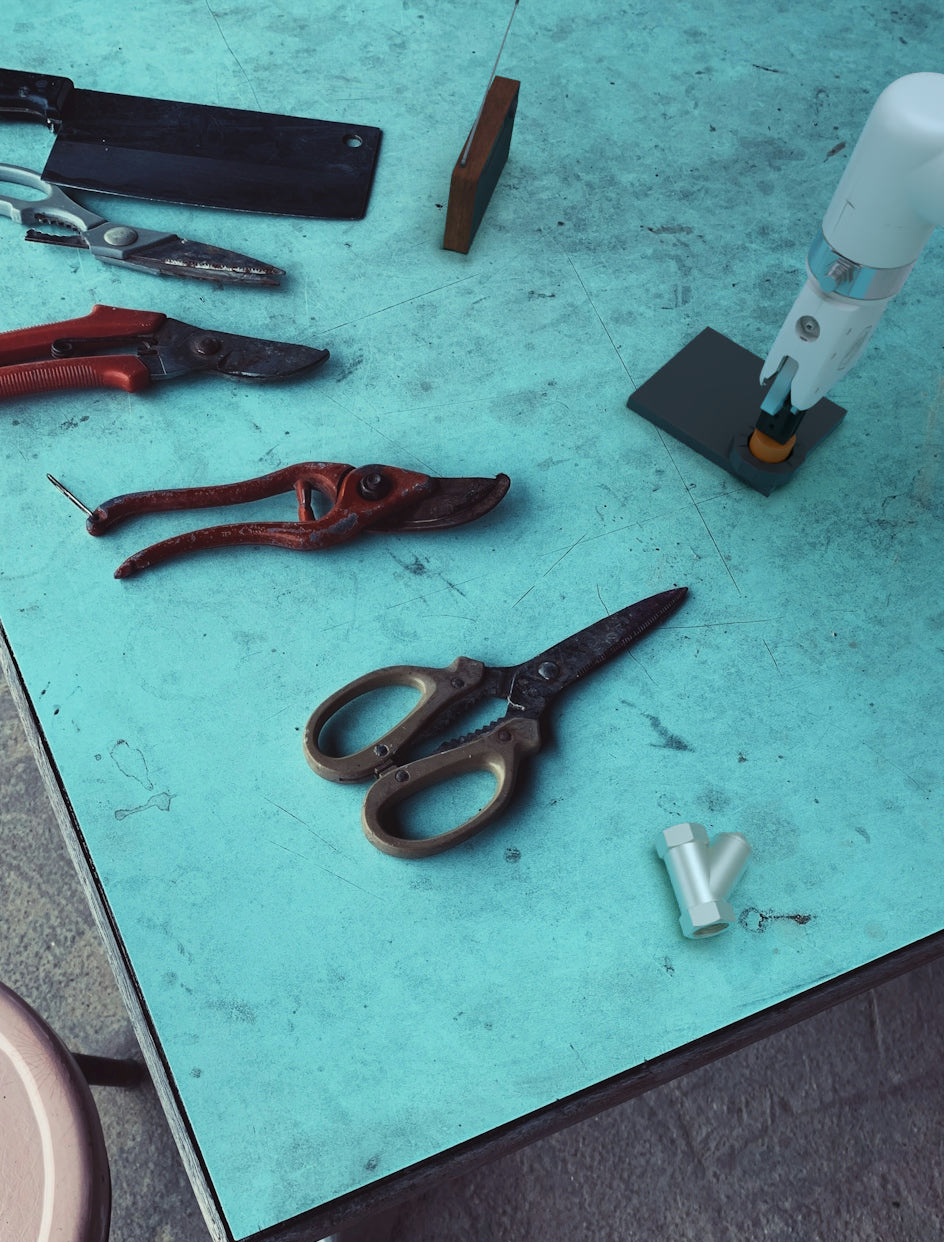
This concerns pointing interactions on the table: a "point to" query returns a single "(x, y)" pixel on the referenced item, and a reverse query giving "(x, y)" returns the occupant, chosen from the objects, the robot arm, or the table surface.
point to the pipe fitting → (703, 875)
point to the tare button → (769, 448)
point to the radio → (481, 160)
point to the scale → (726, 409)
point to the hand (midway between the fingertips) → (774, 431)
